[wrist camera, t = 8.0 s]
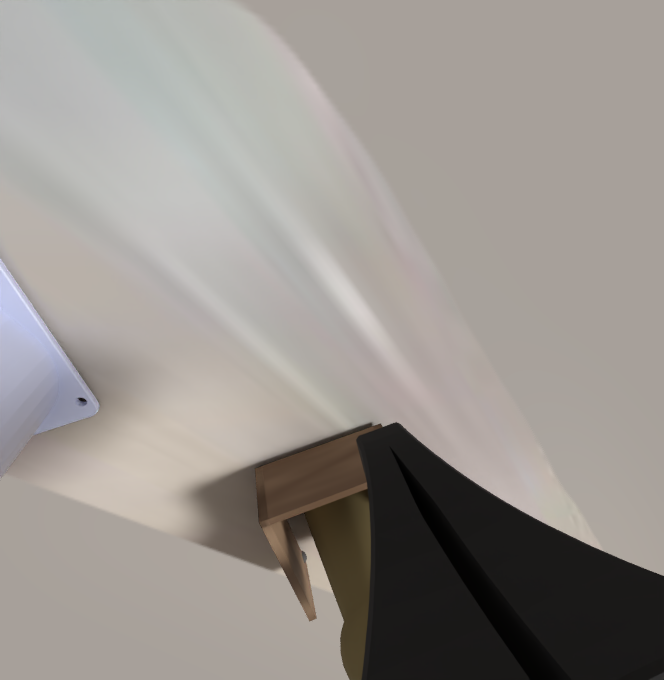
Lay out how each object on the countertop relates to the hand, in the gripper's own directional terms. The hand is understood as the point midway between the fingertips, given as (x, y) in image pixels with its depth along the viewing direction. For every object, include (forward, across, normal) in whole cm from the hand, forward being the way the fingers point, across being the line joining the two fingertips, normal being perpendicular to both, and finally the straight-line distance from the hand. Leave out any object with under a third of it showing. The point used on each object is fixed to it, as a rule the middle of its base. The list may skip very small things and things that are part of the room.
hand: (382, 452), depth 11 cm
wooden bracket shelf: (+10, +2, +14) cm, 17 cm away
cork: (+11, +2, +14) cm, 18 cm away
